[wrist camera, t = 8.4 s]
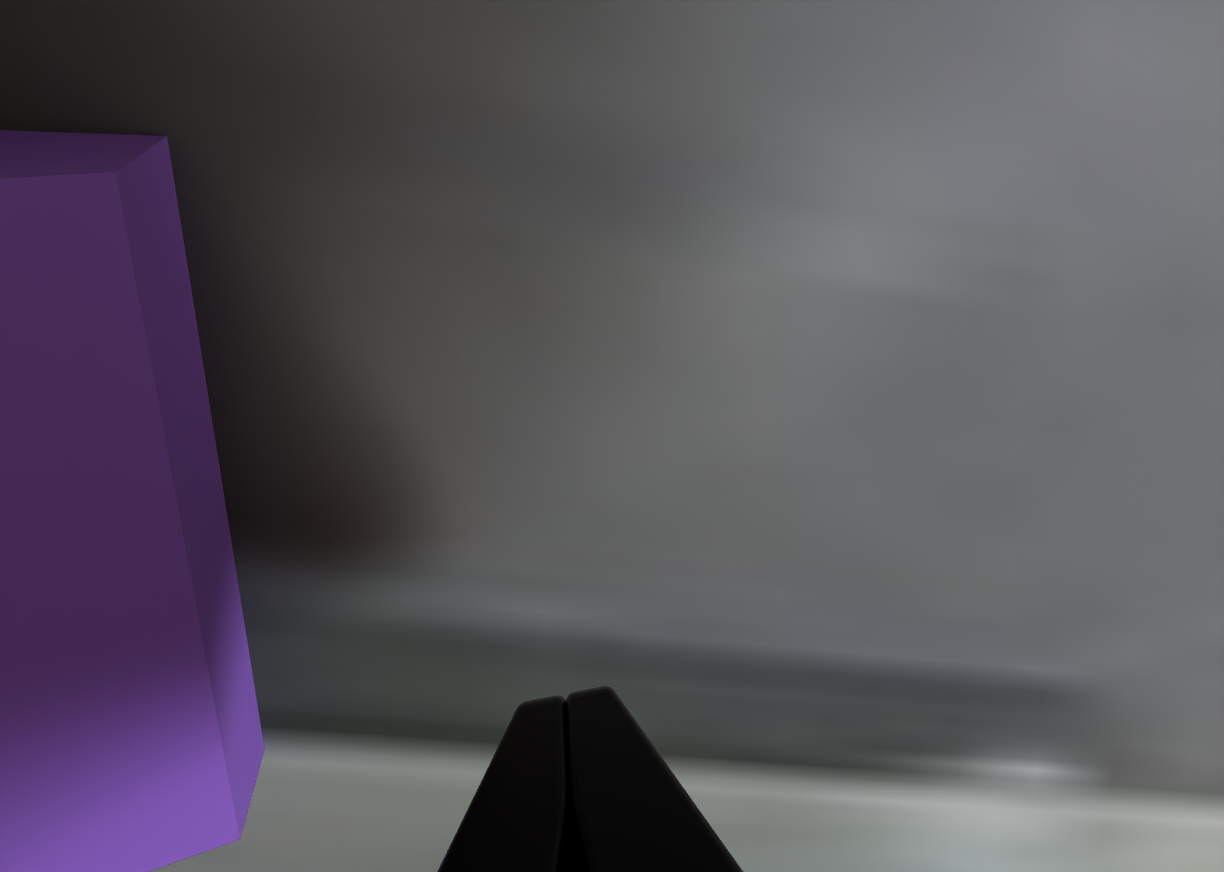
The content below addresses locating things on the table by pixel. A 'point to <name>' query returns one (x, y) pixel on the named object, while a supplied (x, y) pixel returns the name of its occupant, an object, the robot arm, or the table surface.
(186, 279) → the bracket
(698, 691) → the table surface
